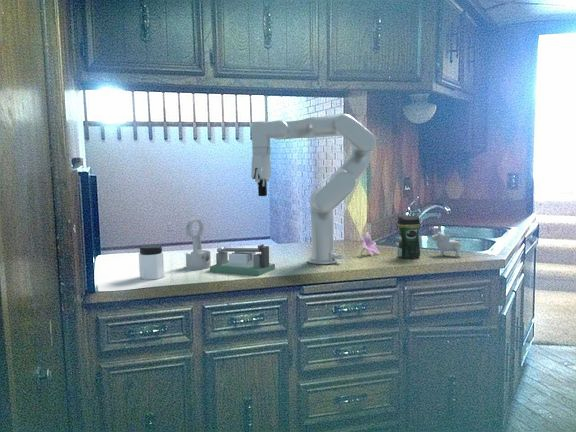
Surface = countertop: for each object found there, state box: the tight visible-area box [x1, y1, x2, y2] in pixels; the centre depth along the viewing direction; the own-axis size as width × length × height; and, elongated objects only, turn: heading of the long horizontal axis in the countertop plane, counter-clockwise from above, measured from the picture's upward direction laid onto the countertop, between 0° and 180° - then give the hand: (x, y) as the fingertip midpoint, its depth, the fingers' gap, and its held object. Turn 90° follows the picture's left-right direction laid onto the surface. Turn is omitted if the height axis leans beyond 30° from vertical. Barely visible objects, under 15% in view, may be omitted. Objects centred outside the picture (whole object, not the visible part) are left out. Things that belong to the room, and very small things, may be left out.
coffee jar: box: [396, 215, 421, 259], centre depth 237 cm, size 10×8×19 cm
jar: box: [138, 244, 165, 281], centre depth 203 cm, size 9×8×12 cm
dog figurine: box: [431, 231, 462, 258], centre depth 240 cm, size 5×13×11 cm, turn 69°
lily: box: [359, 231, 381, 257], centre depth 245 cm, size 12×12×10 cm
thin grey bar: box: [216, 244, 265, 253], centre depth 215 cm, size 19×4×3 cm, turn 66°
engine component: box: [185, 217, 212, 271], centre depth 220 cm, size 11×20×10 cm
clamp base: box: [209, 245, 276, 277], centre depth 215 cm, size 22×14×10 cm, turn 66°
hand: (262, 195), depth 224 cm, fingers closed
